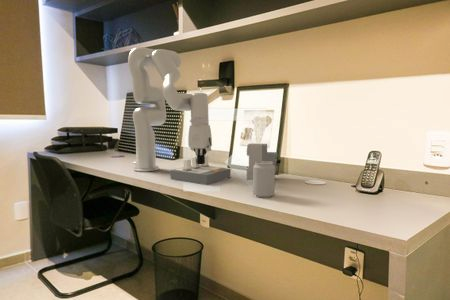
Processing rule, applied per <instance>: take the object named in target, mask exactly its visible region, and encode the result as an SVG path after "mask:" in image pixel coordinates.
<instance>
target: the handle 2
mask: <svg viewBox="0 0 450 300" xmlns="http://www.w3.org/2000/svg"><path fill="white" fill-rule="evenodd" d="M199 165H200V166H210V164H209V156H208V155H205V164H199Z"/></svg>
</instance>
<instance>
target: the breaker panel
mask: <svg viewBox="0 0 450 300" xmlns="http://www.w3.org/2000/svg"><path fill="white" fill-rule="evenodd" d="M200 165H201V164H199V167H200V168H191V169H192V170H183V169H184V166H183V167H180V168H174V169H170V179H171V180H175V181H180V182H186V183H187V182H188V183H193V184H198V185H199V184H200V185H206V186H207V185H212V184H215V183H217V182H221V181H224V180H227V179H231V168H227V167H226V168H225V167H221V166H220V167H219V166H214V165H209V166H200ZM191 167H192V165H191Z"/></svg>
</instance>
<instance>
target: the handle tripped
mask: <svg viewBox="0 0 450 300" xmlns="http://www.w3.org/2000/svg"><path fill="white" fill-rule="evenodd" d="M199 165H200V164H197V156H196V157H191V166H192V167H191V168H200V167H199Z"/></svg>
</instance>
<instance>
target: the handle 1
mask: <svg viewBox="0 0 450 300" xmlns="http://www.w3.org/2000/svg"><path fill="white" fill-rule="evenodd" d="M182 162H183V163H182V164H183V167H184V169H183V170H192V169H191V166H192V158H191V159H190V158H186V159H183V161H182Z"/></svg>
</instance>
